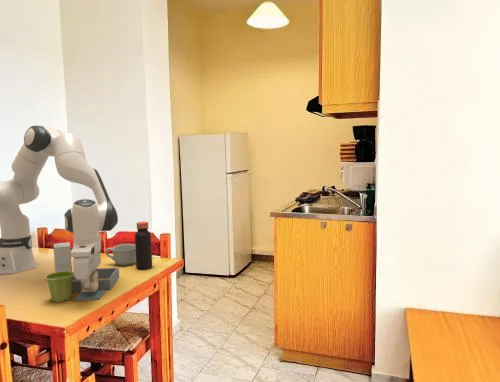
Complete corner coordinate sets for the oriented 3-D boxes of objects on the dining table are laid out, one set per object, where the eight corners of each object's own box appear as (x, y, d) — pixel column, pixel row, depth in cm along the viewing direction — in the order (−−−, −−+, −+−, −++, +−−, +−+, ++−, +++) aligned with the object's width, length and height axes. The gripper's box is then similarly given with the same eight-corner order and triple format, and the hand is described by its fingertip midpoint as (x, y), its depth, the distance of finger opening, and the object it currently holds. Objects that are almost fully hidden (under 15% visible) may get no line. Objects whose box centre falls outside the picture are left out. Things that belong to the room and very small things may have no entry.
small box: (72, 276, 172) (70, 245, 171) (55, 279, 169) (53, 247, 168) (71, 271, 179) (69, 241, 178) (55, 273, 177) (53, 243, 175)
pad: (75, 300, 145) (75, 299, 145) (82, 292, 153) (82, 291, 153) (99, 299, 146) (99, 297, 146) (104, 291, 154) (104, 290, 154)
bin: (66, 292, 154) (66, 281, 153) (79, 279, 169) (79, 269, 169) (110, 290, 155) (109, 279, 155) (119, 277, 171) (118, 267, 170)
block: (81, 292, 147) (80, 275, 146) (85, 287, 151) (84, 271, 151) (95, 291, 147) (94, 275, 147) (98, 287, 152) (97, 271, 151)
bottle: (135, 270, 180) (133, 224, 177) (137, 265, 186) (135, 221, 184) (151, 269, 181) (149, 223, 178) (152, 265, 187) (151, 220, 185)
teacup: (141, 260, 195) (140, 243, 194) (132, 267, 184) (131, 249, 183) (112, 260, 196) (111, 243, 195) (102, 267, 186) (101, 249, 185)
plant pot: (52, 294, 151) (51, 271, 150) (79, 293, 152) (78, 270, 151) (42, 304, 142) (40, 279, 141) (70, 303, 143) (69, 278, 142)
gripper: (86, 239, 157) (88, 275, 159) (68, 253, 137) (71, 294, 139) (104, 239, 158) (106, 274, 160) (88, 252, 138) (91, 293, 139)
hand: (89, 284), depth 149 cm, fingers closed on block, 4 cm apart
